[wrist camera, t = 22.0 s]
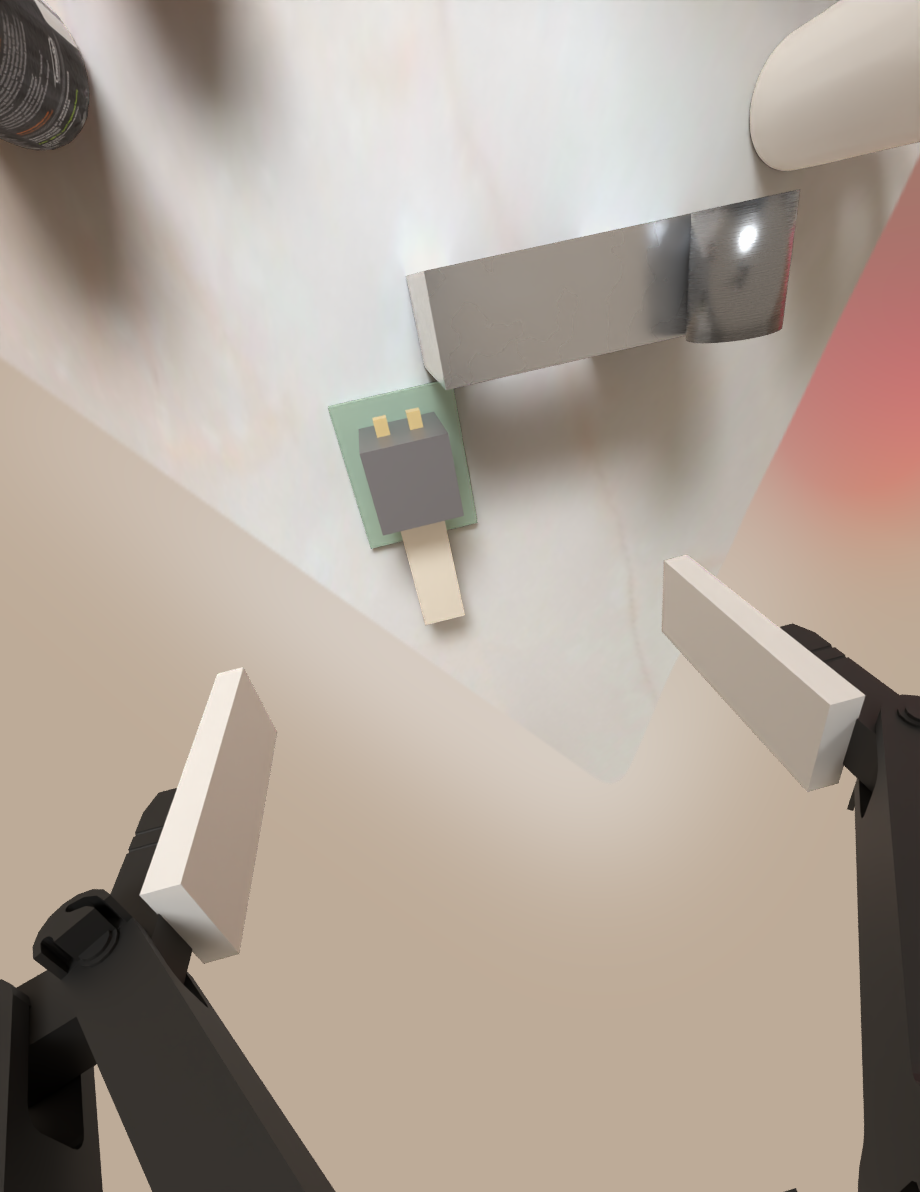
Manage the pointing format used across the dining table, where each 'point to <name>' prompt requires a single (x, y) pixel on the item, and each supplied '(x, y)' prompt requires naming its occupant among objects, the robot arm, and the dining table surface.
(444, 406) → the mat
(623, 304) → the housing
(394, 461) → the plug
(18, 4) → the pill bottle
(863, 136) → the mug
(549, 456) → the dining table surface
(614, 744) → the dining table surface
